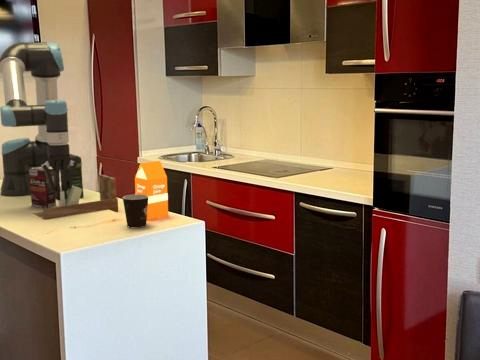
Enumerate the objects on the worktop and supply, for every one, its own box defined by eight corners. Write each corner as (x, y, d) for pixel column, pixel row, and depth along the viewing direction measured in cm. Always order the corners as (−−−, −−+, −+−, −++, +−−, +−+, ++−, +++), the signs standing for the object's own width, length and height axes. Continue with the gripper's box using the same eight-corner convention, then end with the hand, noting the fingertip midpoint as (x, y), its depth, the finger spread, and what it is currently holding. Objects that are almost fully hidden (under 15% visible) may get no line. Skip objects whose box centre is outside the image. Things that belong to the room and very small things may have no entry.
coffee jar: (86, 199, 246) (84, 154, 242) (67, 202, 241) (65, 156, 238) (77, 195, 253) (74, 152, 250) (59, 198, 249) (56, 154, 245)
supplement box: (31, 210, 228) (28, 169, 225) (40, 207, 232) (37, 167, 229) (47, 212, 224) (44, 170, 221) (57, 209, 228) (54, 168, 225)
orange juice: (136, 216, 216) (133, 162, 212) (155, 212, 222) (153, 159, 218) (148, 220, 210) (146, 164, 207) (168, 216, 216) (167, 161, 213)
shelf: (32, 217, 216) (30, 183, 214) (104, 205, 233) (102, 174, 231) (45, 223, 207) (42, 188, 205) (118, 211, 224) (116, 178, 222)
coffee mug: (138, 221, 210) (136, 193, 208) (154, 224, 204) (153, 196, 203) (111, 227, 201) (110, 198, 199) (128, 232, 196) (127, 202, 194)
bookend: (59, 207, 220) (66, 184, 220) (66, 209, 222) (73, 186, 222) (67, 211, 214) (74, 187, 214) (75, 213, 216) (82, 189, 216)
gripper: (43, 146, 205) (48, 212, 209) (79, 143, 213) (83, 207, 217) (36, 144, 211) (40, 209, 215) (71, 141, 219) (74, 204, 223)
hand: (61, 208), depth 216 cm, fingers closed
